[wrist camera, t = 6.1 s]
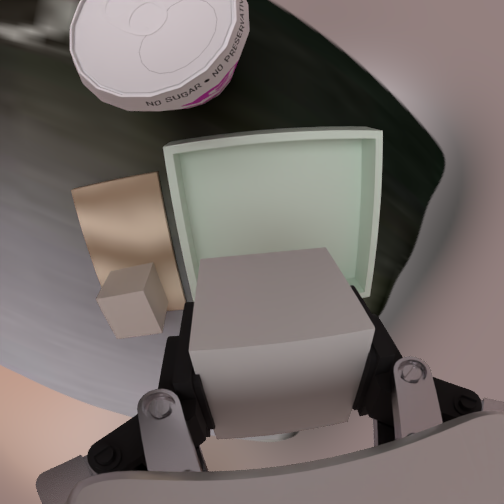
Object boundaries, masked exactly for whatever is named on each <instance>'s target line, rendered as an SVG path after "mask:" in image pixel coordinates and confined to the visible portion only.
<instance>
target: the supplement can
mask: <svg viewBox="0 0 504 504" xmlns="http://www.w3.org/2000/svg"><path fill="white" fill-rule="evenodd" d="M248 34H249V12H248V3H247V1H246V0H81V1H80V2H79V4H78V7H77V9H76V12H75V14H74V17H73V20H72V22H71V25H70V52H71V55H72V57H73V62H74V64H75V67H76V69H77V71H78V74H79V76H80V78H81V81H82V83H83V84H84V85H85V86H86V87H87V88H88V89H89V90H90V91H91V92H92V93H94V94H95V95H96V96H97V97H98V98H99V99H100V100H101V101H103V102H105V103H108V104H111V105H114V106H116V107H119V108H122V109H124V110H127V111H166V110H176V109H188V108H192V107H196V106H199V105H203V104H206V103H207V102H209V101H210V100H212V99H214V98H215V97H217V96H218V95H220V94H221V92H222V91H223V90H224V89H225V87H226V86H227V85H228V84H229V82H230V81H231V78H232V76H233V73H234V70H235V68H236V65H237V63H238V61H239V58H240V55H241V52H242V50H243V47H244V44H245V42H246V39H247V36H248Z"/></svg>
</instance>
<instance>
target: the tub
mask: <svg viewBox="0 0 504 504" xmlns="http://www.w3.org/2000/svg"><path fill="white" fill-rule="evenodd" d="M163 151H164V157H165V164H166V170H167V176H168V182H169V187H170V193H171V198H172V204H173V209H174V214H175V220H176V225H177V230H178V235H179V240H180V244H181V249H182V254H183V259H184V263H185V268H186V272H187V277H188V281H189V285H190V290H191V294H192V298H193V302H195V294H196V287H197V279H198V272H199V265H200V259H205V258H216V257H227V256H238V255H248V254H259V253H270V252H280V251H291V250H302V249H312V248H323V247H326V249H327V250H328V252H329V253H330V255H331V256H332V258H333V259H334V261H335V263H336V264H337V266H338V267H339V269H340V271H341V272H342V274H343V275H344V277H345V279H346V280H347V282H348V283H349V285H354V286H355V288H356V289H357V291H358V292H359V294H360V296H361V297H362V298H364V297H369V296H370V291H371V285H372V278H373V271H374V263H375V255H376V246H377V236H378V226H379V214H380V200H381V183H382V152H383V131H382V130H377V129H373V128H369V127H355V126H339V127H301V128H283V129H268V130H256V131H245V132H235V133H226V134H218V135H210V136H203V137H196V138H189V139H183V140H176V141H170V142H169V143H167V144H166V145H165V146H163Z"/></svg>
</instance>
